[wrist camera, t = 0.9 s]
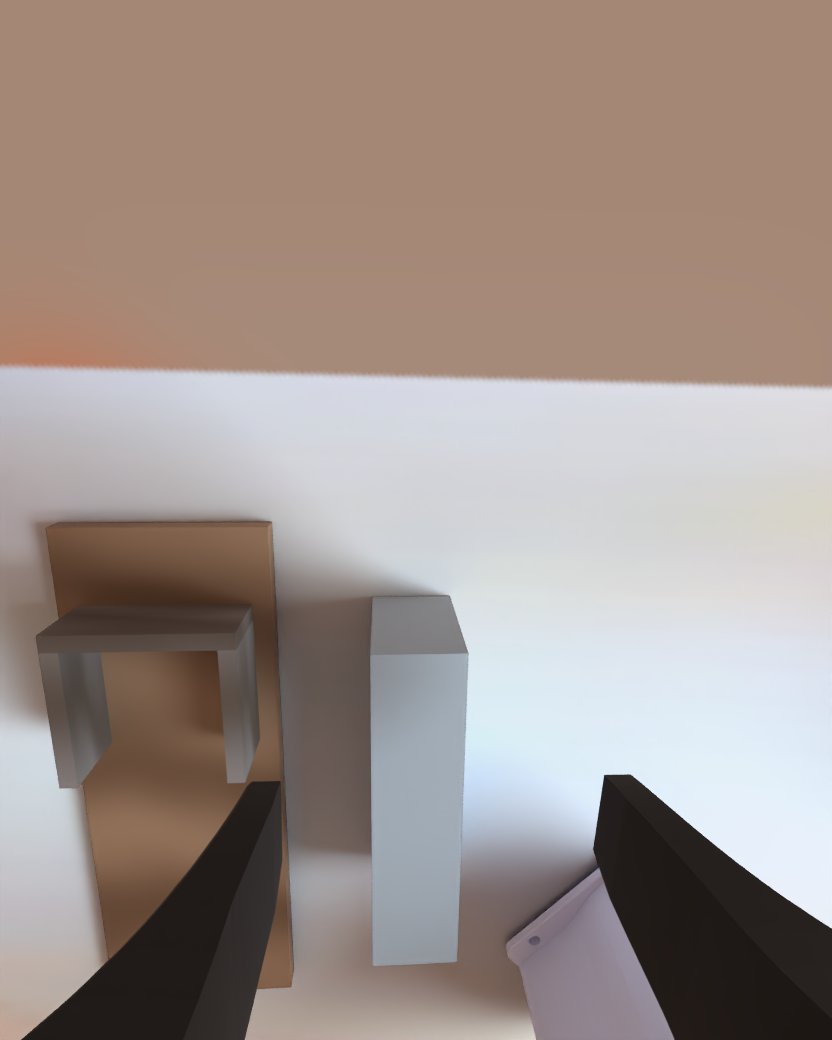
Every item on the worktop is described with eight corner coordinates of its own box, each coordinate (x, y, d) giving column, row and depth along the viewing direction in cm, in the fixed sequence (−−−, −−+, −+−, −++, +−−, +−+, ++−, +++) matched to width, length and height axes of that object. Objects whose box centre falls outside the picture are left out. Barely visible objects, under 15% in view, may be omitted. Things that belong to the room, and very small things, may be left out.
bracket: (293, 969, 26) (281, 1052, 22) (122, 977, 25) (84, 1064, 22) (271, 522, 21) (251, 546, 17) (58, 522, 20) (-3, 548, 17)
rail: (442, 849, 25) (456, 962, 20) (374, 851, 25) (372, 966, 20) (449, 594, 22) (468, 653, 17) (372, 595, 22) (370, 655, 17)
